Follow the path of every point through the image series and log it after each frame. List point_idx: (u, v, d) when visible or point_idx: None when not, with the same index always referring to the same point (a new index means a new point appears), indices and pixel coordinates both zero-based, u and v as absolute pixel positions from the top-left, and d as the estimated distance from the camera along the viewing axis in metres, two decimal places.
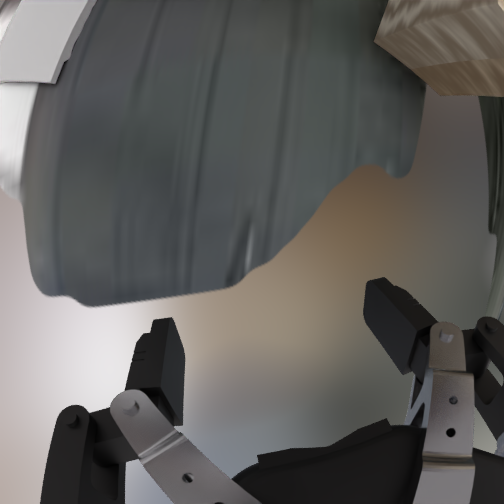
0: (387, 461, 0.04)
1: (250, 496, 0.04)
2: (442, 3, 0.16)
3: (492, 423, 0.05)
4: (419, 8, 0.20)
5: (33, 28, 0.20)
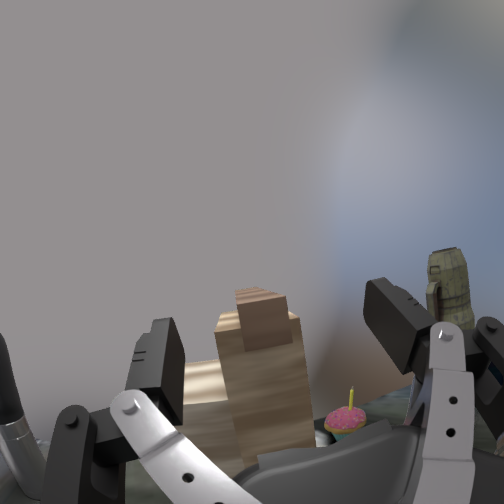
0: (387, 461, 0.04)
1: (250, 496, 0.04)
2: None
3: (492, 423, 0.05)
4: None
5: None
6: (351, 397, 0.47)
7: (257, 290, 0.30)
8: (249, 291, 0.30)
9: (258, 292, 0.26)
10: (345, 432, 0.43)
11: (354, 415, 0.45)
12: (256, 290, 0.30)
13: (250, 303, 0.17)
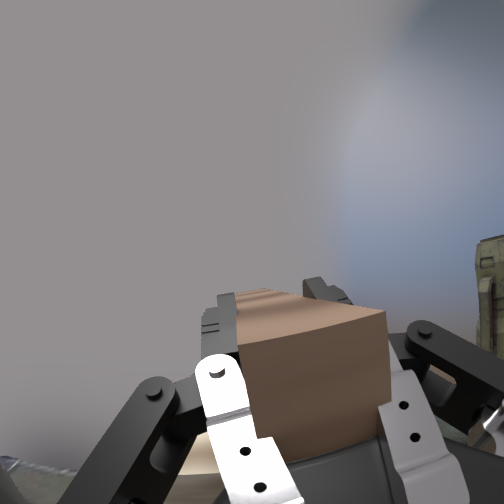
0: (387, 461, 0.04)
1: (294, 485, 0.04)
2: None
3: (454, 420, 0.06)
4: None
5: None
6: None
7: (271, 294, 0.18)
8: (258, 295, 0.19)
9: (277, 298, 0.14)
10: None
11: None
12: (270, 294, 0.18)
13: (282, 340, 0.05)
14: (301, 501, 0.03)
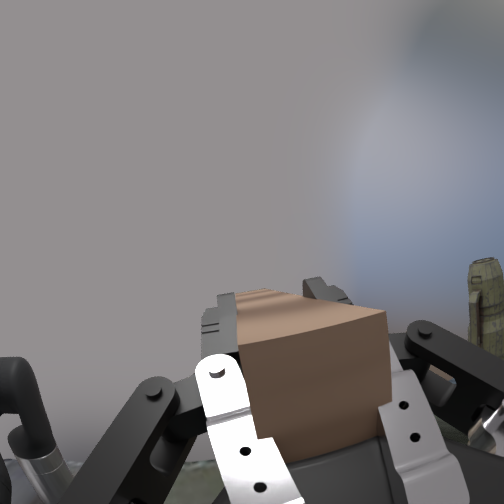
0: (387, 461, 0.04)
1: (294, 485, 0.04)
2: None
3: (454, 420, 0.06)
4: None
5: None
6: None
7: (272, 294, 0.18)
8: (258, 295, 0.19)
9: (277, 298, 0.14)
10: None
11: None
12: (270, 294, 0.18)
13: (282, 340, 0.05)
14: (301, 501, 0.03)
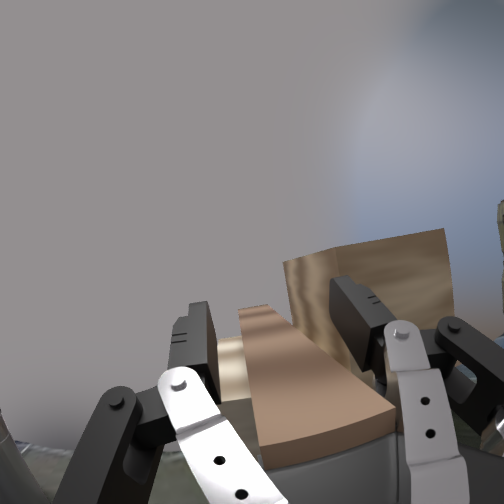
0: (387, 461, 0.04)
1: (275, 488, 0.04)
2: None
3: (471, 419, 0.06)
4: None
5: None
6: None
7: (277, 323, 0.18)
8: (263, 323, 0.18)
9: (285, 337, 0.14)
10: None
11: None
12: (275, 322, 0.18)
13: (300, 441, 0.05)
14: (286, 502, 0.03)
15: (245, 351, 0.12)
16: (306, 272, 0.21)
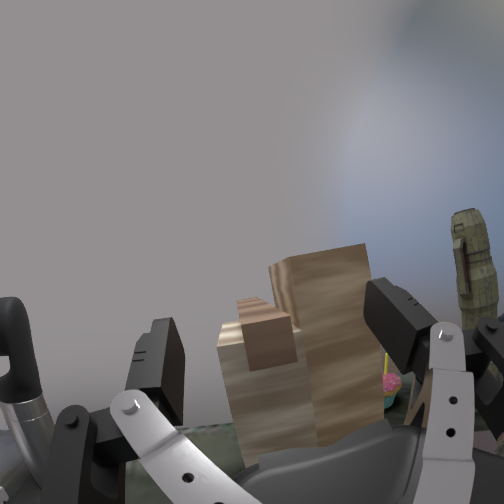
0: (387, 461, 0.04)
1: (250, 496, 0.04)
2: None
3: (492, 423, 0.05)
4: None
5: None
6: (386, 360, 0.48)
7: (259, 303, 0.29)
8: (251, 304, 0.30)
9: (261, 306, 0.25)
10: (384, 395, 0.44)
11: (391, 378, 0.46)
12: (258, 303, 0.30)
13: (254, 323, 0.17)
14: None
15: (239, 312, 0.24)
16: (279, 272, 0.33)
